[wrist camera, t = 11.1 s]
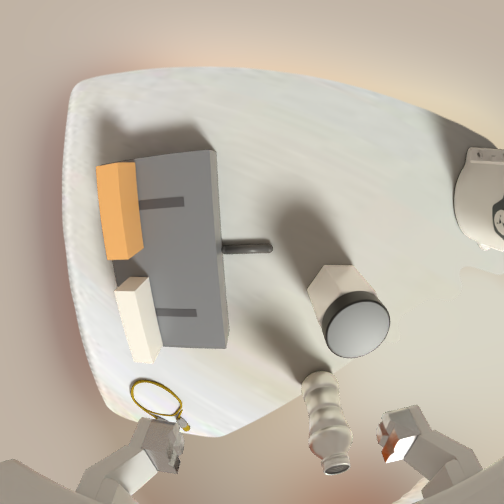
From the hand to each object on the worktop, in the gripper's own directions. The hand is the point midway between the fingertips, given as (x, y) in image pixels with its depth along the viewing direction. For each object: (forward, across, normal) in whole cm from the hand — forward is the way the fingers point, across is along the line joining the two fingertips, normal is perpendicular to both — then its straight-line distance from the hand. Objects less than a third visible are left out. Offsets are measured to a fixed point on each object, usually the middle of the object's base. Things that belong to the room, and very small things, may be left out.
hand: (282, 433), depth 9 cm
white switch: (+26, +17, +9) cm, 32 cm away
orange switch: (+26, +17, -6) cm, 32 cm away
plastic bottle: (+31, -9, +27) cm, 42 cm away
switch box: (+31, +11, +2) cm, 33 cm away
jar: (+31, -10, +8) cm, 34 cm away
